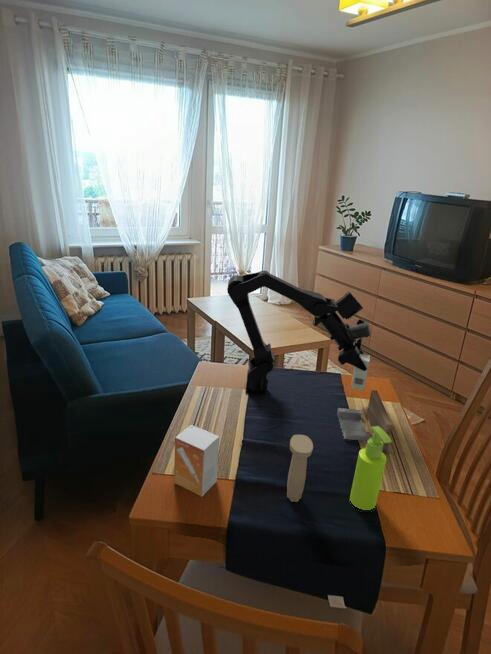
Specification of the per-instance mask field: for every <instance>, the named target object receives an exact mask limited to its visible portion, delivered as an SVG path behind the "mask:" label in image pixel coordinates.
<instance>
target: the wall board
mask: <svg viewBox="0 0 491 654" xmlns="http://www.w3.org/2000/svg"><path fill="white" fill-rule="evenodd" d="M368 401H369V402H368V406H367V411H366V418H367V421H368V424H369V426H370V428H371V427H374V426H379V427H380V428H382V429H383V430H384V431H385V432H386V433H387V435H388V436H389V437H390V438H391V434H392V431H393V426H394V424H393V422H392V420H391V418H390V415H389V414H388V412H387V409H386V407H385V405H384V403H383V401H382V398H381V397H380V394H379V392H378V390H373V389H372V390H371V392H370V397H369V400H368ZM371 431H372V430H371ZM373 433H374V432H373V431H372V434H373ZM382 453H383V454H384V453H385V454H393V453H394V451H393V448H392V445H391V443H383V450H382Z"/></svg>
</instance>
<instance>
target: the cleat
mask: <svg viewBox="0 0 491 654" xmlns="http://www.w3.org/2000/svg"><path fill="white" fill-rule="evenodd" d="M336 415H337V418H339V419H338V422H340V423H339V426H340V425H341V426H340V430H341V429H342V430H341V433H343V434H342V437H343V436H344V437H343V440H344V439H349V440H348V441H351V440H358V441H357V442H362V441H365V443H367V441H368V439H370V438H371V433H370V432H369V431H366V428H365V426H364V422H363V420H362V416H363V412H362V410H361V409H357V408H356V409H354V408H343V407H342V408H341V407H337V412H336ZM350 439H351V440H350Z"/></svg>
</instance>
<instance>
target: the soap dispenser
mask: <svg viewBox="0 0 491 654" xmlns="http://www.w3.org/2000/svg"><path fill="white" fill-rule="evenodd" d="M370 430H371V431H373V432H374V433H373V432H372V437H370V439H368V441H367V442H366V447H364V448H361V449H360V450H359V452H358V456H357V461H356V465H355V471H354V475H353V480H352V485H351V490H350V496H349V502H350V501H351V503H352V504H353V505H354V506H355V507H357V508H359V509H362V510H371V509H373V508H375V509H376V507H377V502H378V498H379V495H380V489H381V485H382V481H383V477H384V472H385V468H386V464H387V457H386V455H385V454H384V453H382V450H383V443H390V444H391V443H393V440H392V439H391V436H390V437H389V436H388V435H387V433H386V432H385V431H384V430H383V429H382V428H380V427H379V426H374V427H371V426H370ZM351 503H350V504H351ZM375 506H376V507H375Z"/></svg>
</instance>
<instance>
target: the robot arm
mask: <svg viewBox="0 0 491 654" xmlns="http://www.w3.org/2000/svg"><path fill="white" fill-rule="evenodd" d="M261 288H266V289H269V290H271V291H273V292H275V293H276V294H279V295H281V296H283V297H285V298H287V299H290V300H291V301H293V302H295V303H297V304H299V306H301V307H302V308H303V309H304V310H305V311H307V312H308V313H309V314H310V315H312V316H313V317H314V321H313V326H314V327H316V326H318V325H320V324H321V325H322V327H323V328H324V329H325V331H326V332H327V333H328V335H329V336H330V337H329V339H330V340H331V341H334V342H335V343H336V345H337V346H338V347H337V349H338V350H339V353H338V357H337V362H339V364H340V365H341V366H343V365H345V364H348V365H350V366H352V367H354V368H355V367H357V368H359V369H361V370H363V371H366V370H367V368H366V366H365V364H364V362H363V360H362V359H361V357H360V354H364V355H365V353H364V351H363V348H362V341H363V339H362V338H368V337H371V333H372V332H371V329H370V324H369V322H368V321H365V320H364V319H363V318H359V319H357V321H356V324H353V325H352V326H350V325H349V323H345V322H344V321H343V320H342V319H345V320H349V319H350V318H352V317H354V316H355V315H356V314H358V313H359V312H361V311H362V310H363V309H364V307H363V306H362V304H361V303H360V302H359V301H358V300H357V298H356V297H355V296H353V294H352V293H351V291H347V292H346V293H345V294H344V295H343V296H342V297H340V298H339V299H338V300H335V299H333V298H328V297H325V296H324V295H323V294H321V293H320V292H316V291H314V290H307V289H302V288H300V287H298V286H296V285H294V284H292V283H289V282H288V281H286V280H284V279H282V278H280V277H278V276H276V275H274V274H271V273H270V272H269V271H268V270H261V271H258V272H252V273H247V274H243V275H238V274H236V275H233V276H231V277H230V278H229V280H228V282H227V289H226V291H227V294H228V296H229V297H230V299H231V301H232V302H233V304H234V305H235V306H236V308H237V309H238V312H239V314H240V317H241V320H242V323H243V324H244V325H243V326H244V327H245V330H246V332H247V333H246V334H247V336H248V339H249V341H250V345H251V347H252V351H253V357H252V358H251V359H250V360H248V370H247V373H246V383H245V394H248V395H249V394H250V395H259V396H265V395H266V392H267V391H268V384H269V377H268V374H269V373H271V372H272V371H273V369H274V366H275V365H274V363H275V362H276V361H275V358H276V357H275V353H274V352H273V350H272V345H271V343H268V344H267V343H265V341H264V339H263V336H262V334H261V331H260V328H259V324H258V322H257V319H256V317H255V315H254V312H253V309H252V305H251V303H250V297H249V294H251V293H254V292H255V291H257V290H259V289H261ZM339 315H340V316H339ZM341 318H342V319H341Z"/></svg>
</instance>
